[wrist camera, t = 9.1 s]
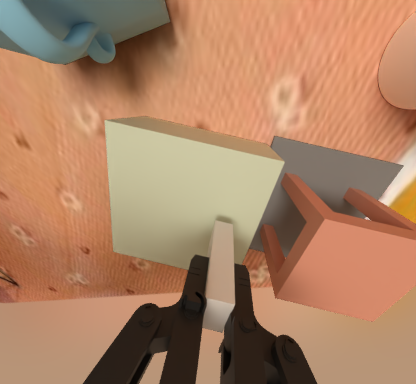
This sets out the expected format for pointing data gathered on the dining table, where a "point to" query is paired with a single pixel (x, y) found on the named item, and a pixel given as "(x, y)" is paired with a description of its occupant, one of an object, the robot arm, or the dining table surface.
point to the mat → (320, 185)
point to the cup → (400, 67)
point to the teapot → (76, 26)
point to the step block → (183, 188)
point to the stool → (343, 255)
